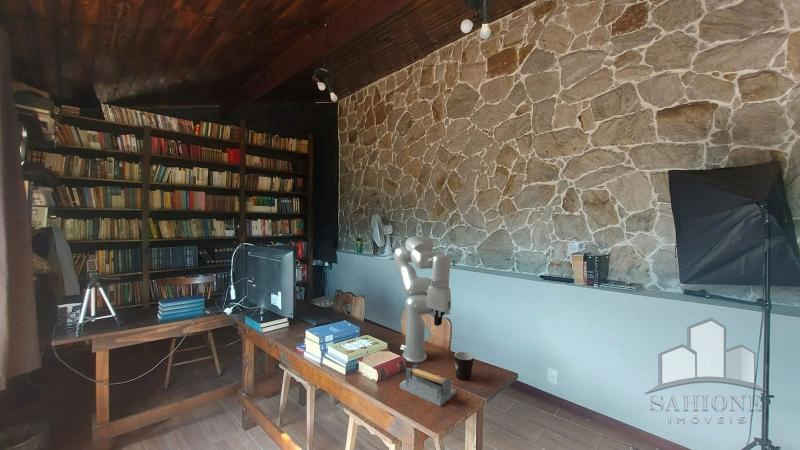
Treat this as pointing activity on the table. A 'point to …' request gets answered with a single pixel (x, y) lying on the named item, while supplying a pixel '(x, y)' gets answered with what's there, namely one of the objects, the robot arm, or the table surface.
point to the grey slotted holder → (427, 387)
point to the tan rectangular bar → (427, 375)
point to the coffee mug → (463, 365)
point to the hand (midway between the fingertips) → (437, 324)
